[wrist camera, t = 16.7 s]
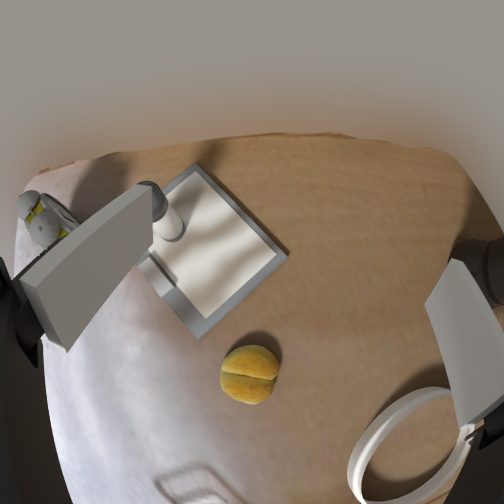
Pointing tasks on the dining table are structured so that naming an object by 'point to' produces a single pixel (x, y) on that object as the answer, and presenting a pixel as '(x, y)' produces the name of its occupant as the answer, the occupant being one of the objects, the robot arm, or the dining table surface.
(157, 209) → the white grey cylinder
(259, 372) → the bread roll
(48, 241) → the alarm clock
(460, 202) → the dining table surface
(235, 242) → the clipboard
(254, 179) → the dining table surface
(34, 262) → the robot arm
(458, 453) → the white hollow ring
